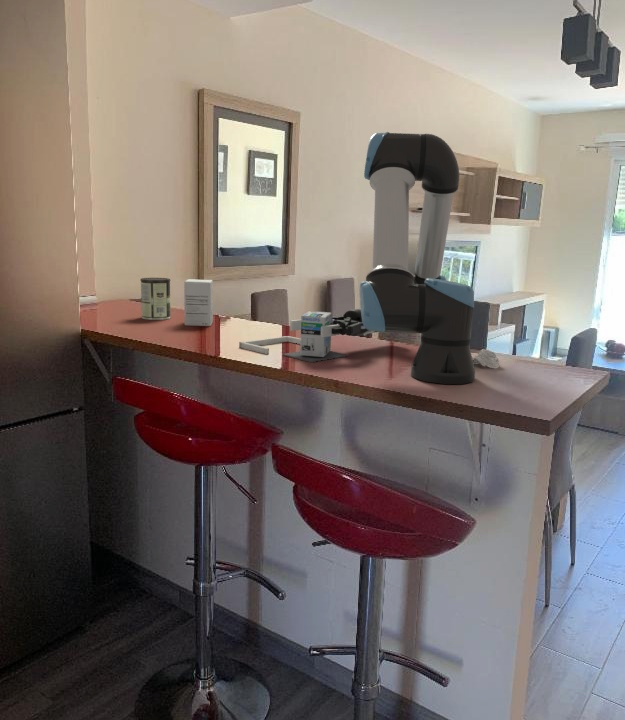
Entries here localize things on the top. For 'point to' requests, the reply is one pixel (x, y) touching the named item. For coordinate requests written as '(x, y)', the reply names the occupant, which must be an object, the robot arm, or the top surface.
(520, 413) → the top surface
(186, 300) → the supplement box
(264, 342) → the grey bent bar
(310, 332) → the light bulb box
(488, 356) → the whitish grey rock
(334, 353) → the rubber mat
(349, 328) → the robot arm
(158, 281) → the coffee can
